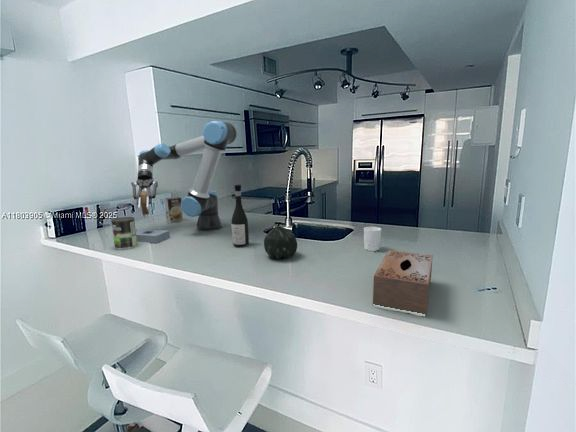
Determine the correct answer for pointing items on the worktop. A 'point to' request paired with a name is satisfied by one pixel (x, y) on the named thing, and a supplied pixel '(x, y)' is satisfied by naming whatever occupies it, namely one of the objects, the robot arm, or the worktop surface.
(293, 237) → the squash
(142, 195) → the dowel
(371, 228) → the white cup
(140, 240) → the socket board
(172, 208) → the coffee box
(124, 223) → the coffee can
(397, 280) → the tissue box cover
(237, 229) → the wine bottle
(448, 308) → the worktop surface
